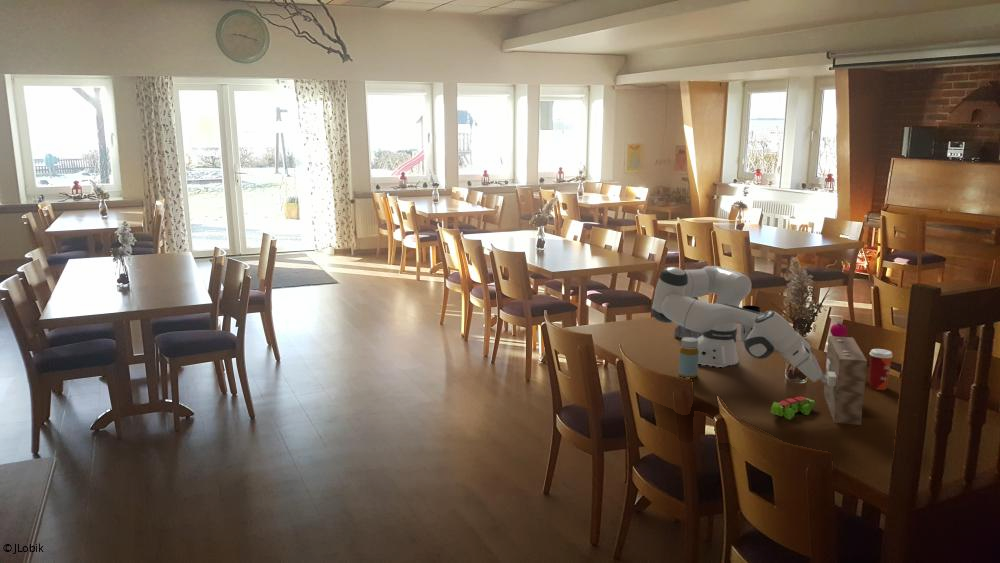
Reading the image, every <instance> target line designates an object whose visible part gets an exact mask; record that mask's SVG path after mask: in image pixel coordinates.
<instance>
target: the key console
mask: <svg viewBox="0 0 1000 563" xmlns="http://www.w3.org/2000/svg"><path fill="white" fill-rule="evenodd" d="M826 357H827V359H829V360H830V372H835V374H836V376H837V378H836V386H828V383H827V382H825V383H823V384H824V387H823V396H824V398H825V402H826V401H827V402H826V404H828V405H827V407H828V410H829V412H831V413H830V415H831V418H832V420H833V423H837V424H847V425H855V426H856V425H861V424H862V419H863V418H862V417H863V407H864V397H865V395H864V394H865V386H866V374H867V366H868V365H867V364H868V360H867V358H866V356H865V355H864V353H863V351H862V350H861V348H860V347H859V344H858V343H857V342H856V339H855V338H854V337H852V336H851V337H850V336H849V337H848V336H844V337H836V336H832V335H828V339H827V350H826ZM827 359H825V360H826V363H827ZM824 374H825V376H826V377H827V368H826V367H825V373H824Z"/></svg>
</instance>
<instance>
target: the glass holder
mask: <svg viewBox="0 0 1000 563" xmlns="http://www.w3.org/2000/svg"><path fill="white" fill-rule="evenodd" d="M742 308H744V309H748V310H752V311H756V312H760V313H761V307H760V306H758V305H743V306H742ZM752 329H753V328H751V327H748V326H744V325H740V336H739V338H738V339H739V340H740V341H742V342H744V341H745V340H746V338H747V337H748V335H749V334H750V332H751V331H752Z"/></svg>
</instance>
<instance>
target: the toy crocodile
mask: <svg viewBox="0 0 1000 563" xmlns="http://www.w3.org/2000/svg"><path fill="white" fill-rule="evenodd" d="M816 403H817V402H816V401H815V400H813V399H810V398H807V397H803V396H797V397H793V398H792V397H790V398H786V399H784V400H781V401H779V402H776V401H774V402H773V403H772V404H771V407H770V411H769V412H770V413H771V414H772V415H777V416H780V417H784V418H785V419H787V420H792V419H794V418H795V415H796V413H799V412H801V414H802V415H805V416H809V415H810V414H811V413H812V408H814V407H815V405H816Z"/></svg>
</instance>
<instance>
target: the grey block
mask: <svg viewBox="0 0 1000 563" xmlns="http://www.w3.org/2000/svg"><path fill="white" fill-rule="evenodd" d="M826 360H827V363H826V364H825V369H826V368H827V371H829V372H830V360H829V359H826Z"/></svg>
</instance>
